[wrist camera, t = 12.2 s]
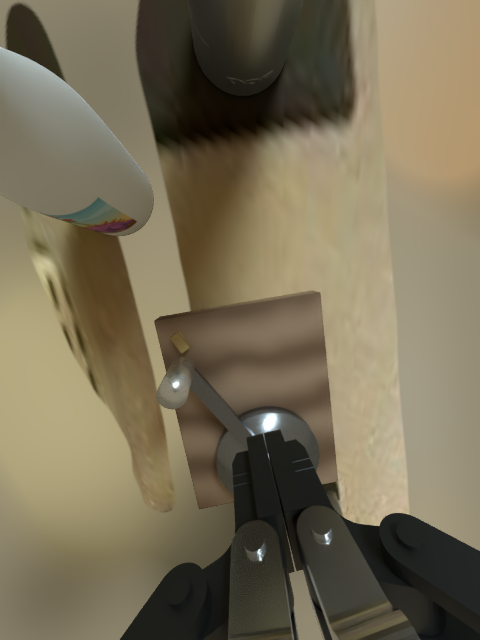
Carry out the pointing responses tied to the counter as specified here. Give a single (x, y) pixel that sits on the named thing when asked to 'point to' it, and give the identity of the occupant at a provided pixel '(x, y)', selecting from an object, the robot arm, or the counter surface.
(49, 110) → the milk bottle
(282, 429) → the gray disc with handle
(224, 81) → the robot arm
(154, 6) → the counter surface
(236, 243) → the counter surface
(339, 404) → the counter surface
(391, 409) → the counter surface
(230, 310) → the stand
